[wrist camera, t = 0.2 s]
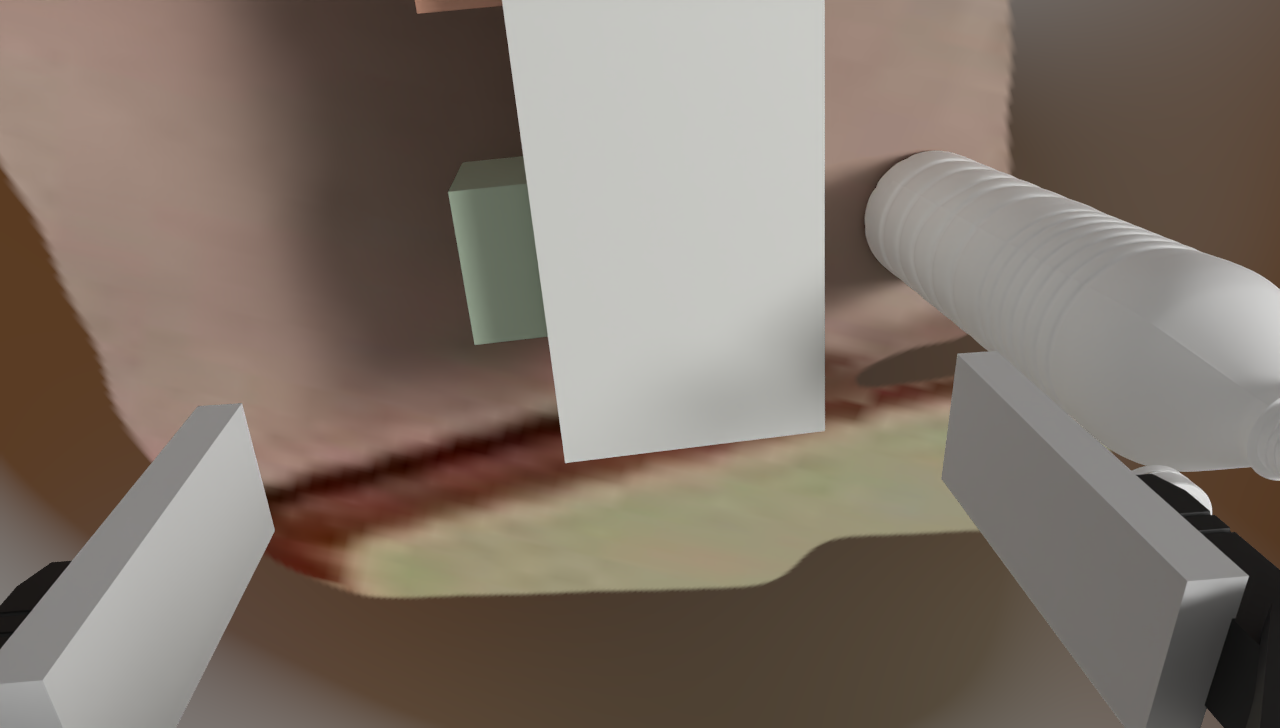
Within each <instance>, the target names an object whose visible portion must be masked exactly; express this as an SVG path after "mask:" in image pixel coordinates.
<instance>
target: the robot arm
mask: <svg viewBox="0 0 1280 728" xmlns="http://www.w3.org/2000/svg"><path fill="white" fill-rule="evenodd" d="M942 480H943V481H944V483H945V484H946V486H947V487H948V488H949V490H950V491H951V492H952V494H953V495H954V496H955V498H956V499H957V500H958V502H959V503H960V505H961V506H962V507H963V509H964V510H965V511H966V513H967V514H968V515H969V517H970V518H971V520H972V521H973V522H974V524H975V525H976V526H977V528H978V529H979V530H980V532H981V533H982V534H983V536H984V537H985V538H986V540H987V541H988V543H989V544H990V545H991V547H992V548H993V549H994V551H995V552H996V553H997V555H998V556H999V557H1000V559H1001V560H1002V562H1003V563H1004V564H1005V566H1006V567H1007V568H1008V570H1009V571H1010V572H1011V574H1012V575H1013V577H1014V578H1015V579H1016V581H1017V582H1018V583H1019V585H1020V586H1021V587H1022V589H1023V590H1024V592H1025V593H1026V594H1027V596H1028V597H1029V598H1030V600H1031V601H1032V602H1033V604H1034V605H1035V606H1036V608H1037V609H1038V610H1039V612H1040V613H1041V615H1042V616H1043V617H1044V619H1045V620H1046V621H1047V622H1048V624H1049V626H1050V627H1051V628H1052V630H1053V631H1054V632H1055V634H1056V635H1057V636H1058V638H1059V639H1060V640H1061V642H1062V643H1063V644H1064V646H1065V647H1066V649H1067V650H1068V651H1069V653H1070V654H1071V655H1072V657H1073V658H1074V659H1075V661H1076V662H1077V664H1078V665H1079V666H1080V668H1081V669H1082V670H1083V672H1084V673H1085V674H1086V676H1087V677H1088V679H1089V680H1090V681H1091V682H1092V684H1093V685H1094V687H1095V688H1096V689H1097V691H1098V692H1099V693H1100V695H1101V696H1102V698H1103V699H1104V700H1105V702H1106V703H1107V704H1108V706H1109V707H1110V708H1111V710H1112V711H1113V712H1114V714H1115V715H1116V717H1117V718H1118V719H1119V721H1120V722H1121V723H1122V725H1123V726H1124V727H1125V728H1200V727H1201V724H1202V721H1203V718H1204V715H1205V712H1206V709H1208V710H1209V711H1210V712H1211V713H1212V714H1213V716H1214V717H1215V718H1216V719H1217V720H1218V721H1219V722H1220V724H1221V725H1222V726H1223V727H1224V728H1280V570H1279V569H1278V568H1277V567H1276V566H1274V565H1273V564H1272V563H1271V562H1270V561H1268V560H1267V559H1266V558H1265V557H1264V556H1263V555H1261V554H1260V553H1259V552H1258V551H1257V550H1256V549H1254V548H1253V547H1252V546H1251V545H1250V544H1248V543H1247V542H1246V541H1245V540H1244V539H1242V538H1241V537H1240V536H1239V535H1238V534H1237V533H1235V532H1230V528H1229V527H1228V526H1227V525H1226V524H1225V523H1224V522H1222V521H1221V520H1220V519H1219V518H1218V517H1217V516H1215V515H1211V514H1210V511H1209V510H1208V509H1207V508H1206V507H1205V506H1204V505H1202V504H1201V503H1200V502H1199V501H1198V500H1196V499H1195V498H1194V497H1193V496H1192V495H1191V494H1189V493H1188V492H1187V491H1186V490H1184V489H1182V488H1180V487H1178V486H1176V485H1174V484H1172V483H1170V482H1168V481H1166V480H1164V479H1162V478H1160V477H1158V476H1156V475H1154V474H1141V475H1135V474H1134V473H1133V472H1132V471H1131V470H1130V469H1128V468H1127V467H1126V466H1125V465H1124V464H1123V463H1122V462H1121V461H1120V460H1119V459H1117V458H1116V457H1115V456H1114V455H1113V454H1112V453H1111V452H1110V451H1108V450H1107V449H1106V448H1105V447H1104V446H1103V445H1102V444H1101V443H1100V442H1098V441H1097V440H1096V439H1095V438H1094V437H1093V436H1092V435H1091V434H1089V433H1088V432H1087V431H1086V430H1085V429H1084V428H1083V427H1082V426H1081V425H1079V424H1078V423H1077V422H1076V421H1075V420H1074V419H1073V418H1072V417H1070V416H1069V415H1068V414H1067V413H1066V412H1065V411H1064V410H1063V409H1061V408H1060V407H1059V406H1058V405H1057V404H1056V403H1055V402H1054V401H1053V400H1051V399H1050V398H1049V397H1048V396H1047V395H1046V394H1045V393H1044V392H1042V391H1041V390H1040V389H1039V388H1038V387H1037V386H1036V385H1035V384H1034V383H1032V382H1031V381H1030V380H1029V379H1028V378H1027V377H1026V376H1025V375H1023V374H1022V373H1021V372H1020V371H1019V370H1018V369H1017V368H1016V367H1014V366H1013V365H1012V364H1011V363H1010V362H1009V361H1008V360H1007V359H1006V358H1004V357H1003V356H1002V355H1001V354H1000V353H999V352H998V351H991V352H976V353H963V354H957V363H956V371H955V377H954V385H953V393H952V401H951V409H950V416H949V424H948V432H947V440H946V448H945V456H944V463H943V471H942ZM274 531H275V530H274V526H273V522H272V518H271V514H270V510H269V506H268V502H267V499H266V495H265V491H264V487H263V483H262V479H261V475H260V471H259V468H258V464H257V460H256V456H255V452H254V448H253V444H252V441H251V437H250V433H249V429H248V425H247V421H246V417H245V413H244V410H243V406H242V403H238V404H224V405H210V406H198V407H197V408H196V409H195V410H194V412H193V413H192V414H191V415H190V417H189V418H188V419H187V420H186V422H185V423H184V424H183V425H182V426H181V428H180V429H179V430H178V431H177V433H176V434H175V435H174V436H173V438H172V439H171V440H170V441H169V442H168V444H167V445H166V446H165V447H164V449H163V450H162V451H161V452H160V454H159V455H158V456H157V457H156V458H155V460H154V461H153V462H152V463H151V465H150V466H149V467H148V468H147V469H146V471H145V472H144V473H143V475H142V476H141V477H140V478H139V479H138V481H137V482H136V483H135V484H134V485H133V487H132V488H131V489H130V490H129V492H128V493H127V494H126V495H125V497H124V498H123V499H122V500H121V501H120V503H119V504H118V505H117V506H116V508H115V509H114V510H113V511H112V513H111V514H110V515H109V516H108V517H107V519H106V520H105V521H104V523H103V524H102V525H101V526H100V527H99V529H98V530H97V531H96V532H95V534H94V535H93V536H92V537H91V538H90V540H89V541H88V542H87V543H86V545H85V546H84V547H83V548H82V549H81V551H80V552H79V553H78V554H77V556H76V557H75V558H74V559H73V560H72V561H64V562H52V563H50V564H49V565H47V566H46V567H44V568H43V569H41V570H40V571H38V572H37V573H36V574H34V575H33V576H31V577H30V578H28V579H27V580H26V581H24V582H23V583H21V584H20V585H18V586H17V587H16V588H15V589H14V591H13V592H12V593H11V594H10V595H9V596H8V597H7V599H6V600H5V601H4V602H3V603H2V604H1V605H0V728H176V726H177V725H178V723H179V721H180V719H181V717H182V715H183V713H184V711H185V709H186V707H187V705H188V703H189V701H190V699H191V697H192V695H193V693H194V691H195V689H196V687H197V685H198V683H199V681H200V679H201V677H202V675H203V673H204V671H205V669H206V667H207V665H208V663H209V661H210V659H211V657H212V655H213V653H214V651H215V649H216V647H217V645H218V643H219V641H220V639H221V637H222V635H223V633H224V631H225V629H226V627H227V625H228V623H229V621H230V619H231V617H232V615H233V613H234V611H235V609H236V607H237V605H238V603H239V601H240V599H241V597H242V595H243V593H244V591H245V589H246V587H247V585H248V583H249V581H250V579H251V577H252V575H253V573H254V571H255V569H256V567H257V565H258V563H259V561H260V559H261V557H262V555H263V553H264V551H265V549H266V547H267V545H268V543H269V541H270V539H271V537H272V535H273V533H274Z"/></svg>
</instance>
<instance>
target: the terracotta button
mask: <svg viewBox="0 0 1280 728" xmlns="http://www.w3.org/2000/svg"><path fill="white" fill-rule="evenodd" d="M415 5H416V10H417V14H420V13H431V12H441V11H452V10H463V9H474V8H484V7H495V6H503V4H502V0H415Z"/></svg>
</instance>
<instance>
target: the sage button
mask: <svg viewBox="0 0 1280 728" xmlns="http://www.w3.org/2000/svg"><path fill="white" fill-rule="evenodd" d="M448 195H449V200H450V206H451V212H452V218H453V223H454V229H455V235H456V241H457V246H458V252H459V258H460V264H461V269H462V275H463V281H464V287H465V293H466V298H467V304H468V310H469V316H470V321H471V327H472V333H473V339H474V344H475V345H479V344H488V343H496V342H505V341H514V340H523V339H531V338H540V337H548V333H547V326H546V318H545V311H544V304H543V297H542V289H541V282H540V275H539V267H538V260H537V253H536V245H535V238H534V231H533V223H532V216H531V209H530V202H529V194H528V187H527V180H526V172H525V165H524V158H523V156H519V157H510V158H500V159H490V160H481V161H471V162H463V163H462V165H461V167H460V169H459V171H458V173H457V175H456V177H455V179H454V181H453V183H452V185H451V187H450V189H449V191H448Z"/></svg>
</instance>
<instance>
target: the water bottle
mask: <svg viewBox="0 0 1280 728" xmlns="http://www.w3.org/2000/svg"><path fill="white" fill-rule="evenodd" d="M865 226H866V227H865V235H866V239H867V242H868V245H869V247H870V249H871V251H872V253H873V255H874V256H875V257H876V259H877V260H878V261H879V262H880V263H881V264H882V265H883V266H884V267H885V268H886V269H888V270H889V271H890V272H891V273H892V274H894V275H895V276H896V277H898V278H899V279H901V280H902V281H903V282H904V283H905V284H907V285H908V286H909V287H910V288H912V289H913V290H914V291H916V292H917V293H918V294H919V295H920V296H922V297H923V298H924V299H925V300H926V301H927V302H929V303H930V304H931V305H933V306H934V307H936V308H937V309H938V310H939V311H940V312H941V313H942V314H943V315H945V316H946V317H947V318H949V319H950V320H952V321H953V322H954V323H955V324H956V325H957V326H958V327H959V328H961V329H962V330H963V331H965V332H966V333H967V334H969V335H971V336H972V337H973V338H974V339H975V340H976V341H977V342H978V343H979V344H980V345H982V346H983V347H984V348H985V349H987V350H988V351H989V352H991V351H998V352H999V353H1000V354H1001V355H1002V356H1003V357H1004V358H1006V359H1007V360H1008V361H1009V362H1010V363H1011V364H1012V365H1013V366H1014V367H1016V368H1017V369H1018V370H1019V371H1020V372H1021V373H1022V374H1023V375H1025V376H1026V377H1027V378H1028V379H1029V380H1030V381H1031V382H1032V383H1034V384H1035V385H1036V386H1037V387H1038V388H1039V389H1040V390H1041V391H1042V392H1044V393H1045V394H1046V395H1047V396H1048V397H1049V398H1050V399H1051V400H1053V401H1054V402H1055V403H1056V404H1057V405H1058V406H1059V407H1060V408H1061V409H1063V410H1064V411H1065V412H1066V413H1067V414H1069V415H1070V416H1072V417H1073V418H1074V419H1075V420H1076V421H1077V422H1078V423H1079V424H1080V425H1082V426H1083V428H1085V429H1086V430H1087V431H1088V432H1089V433H1090V434H1091V435H1092V436H1094V437H1095V438H1096V439H1097V440H1099V441H1100V442H1101V443H1102V444H1104V445H1105V446H1107V447H1108V448H1109V449H1111V450H1112V451H1114V452H1116V453H1117V454H1119V455H1121V456H1123V457H1125V458H1127V459H1130V460H1132V461H1134V462H1137V463H1140V464H1143V465H1146V466H1144V467H1141V468H1138V469H1135V470H1133V471H1132V472H1133V473H1134V474H1135V475H1141V474H1146V473H1148V474H1154V475H1156V476H1158V477H1160V478H1162V479H1164V480H1166V481H1168V482H1170V483H1172V484H1174V485H1176V486H1178V487H1180V488H1182V489H1184V490H1186V491H1187V492H1188V493H1189V494H1191V495H1192V496H1193V497H1194V498H1195V499H1196V500H1198V501H1199V502H1200V503H1201V504H1202V505H1204V506H1205V507H1206V508H1207V509H1208V510H1209V511H1210V514H1211V515H1212V507H1211V503H1210V500H1209V498H1208V496H1207V495H1206V494H1205V492H1204V491H1203V490H1202V489H1200V488H1199V487H1198V486H1196V485H1195V484H1194V483H1192V482H1191V481H1190V480H1189V479H1188V478H1187V477H1185V476H1183V475H1182V474H1181V473H1180V472H1178V471H1185V472H1187V471H1207V470H1220V469H1232V468H1244V467H1252V468H1253V469H1254V471H1255V472H1257V473H1258V474H1259V475H1261V476H1263V477H1265V478H1267V479H1271V480H1280V289H1278V287H1276V286H1275V285H1274V284H1272V283H1271V282H1270V281H1269V280H1267V279H1265V278H1264V277H1262V276H1261V275H1259V274H1257V273H1255V272H1253V271H1251V270H1249V269H1247V268H1245V267H1243V266H1240V265H1238V264H1235V263H1233V262H1230V261H1227V260H1225V259H1221V258H1218V257H1215V256H1212V255H1209V254H1206V253H1202V252H1200V251H1198V250H1196V249H1194V248H1191V247H1188V246H1185V245H1182V244H1180V243H1178V242H1176V241H1174V240H1171V239H1168V238H1165V237H1163V236H1161V235H1158V234H1156V233H1153V232H1150V231H1148V230H1145V229H1143V228H1141V227H1138V226H1135V225H1133V224H1130V223H1128V222H1125V221H1123V220H1120V219H1117V218H1115V217H1113V216H1110V215H1107V214H1105V213H1103V212H1100V211H1098V210H1096V209H1094V208H1092V207H1090V206H1088V205H1085V204H1082V203H1080V202H1077V201H1074V200H1070V199H1068V198H1066V197H1064V196H1062V195H1059V194H1057V193H1054V192H1052V191H1049V190H1045V189H1042V188H1040V187H1038V186H1036V185H1034V184H1032V183H1029V182H1026V181H1023V180H1020V179H1017V178H1015V177H1013V176H1011V175H1009V174H1006V173H1003V172H1000V171H997V170H995V169H993V168H991V167H988V166H986V165H983V164H980V163H978V162H976V161H974V160H971V159H969V158H966V157H963V156H961V155H958V154H956V153H952V152H946V151H926V152H921V153H918V154H915V155H912V156H910V157H909V158H908V159H905V160H902V161H900V162H899V163H897V164H896V165H894V166H893V167H892V168H891V169H889V170H888V171H887V172H886V173H885V174H884V175H883V176H882V178H881V179H880V180H879V182H878V184H877V187H876V188H875V189H874V190H873V192H872V193H871V195H870V198H869V200H868V203H867V207H866V211H865ZM1156 471H1157V472H1156ZM1150 472H1152V473H1150Z"/></svg>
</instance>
